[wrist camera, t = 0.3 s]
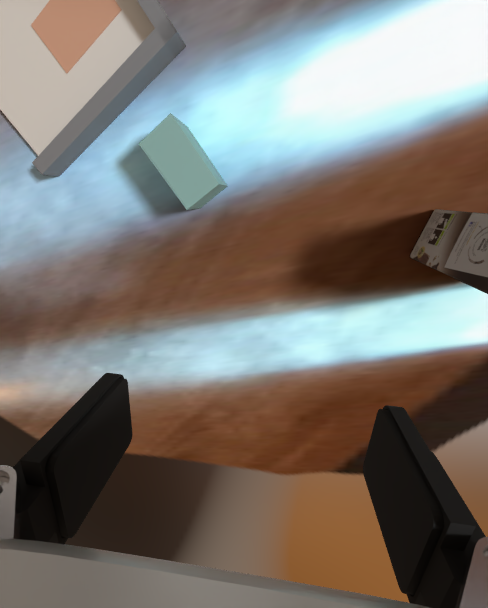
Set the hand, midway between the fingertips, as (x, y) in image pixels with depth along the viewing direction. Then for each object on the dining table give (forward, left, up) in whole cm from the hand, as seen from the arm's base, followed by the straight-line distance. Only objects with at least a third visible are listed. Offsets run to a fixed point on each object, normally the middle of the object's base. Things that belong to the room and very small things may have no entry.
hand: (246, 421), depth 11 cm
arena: (+5, -36, -30) cm, 47 cm away
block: (+1, -15, -30) cm, 33 cm away
